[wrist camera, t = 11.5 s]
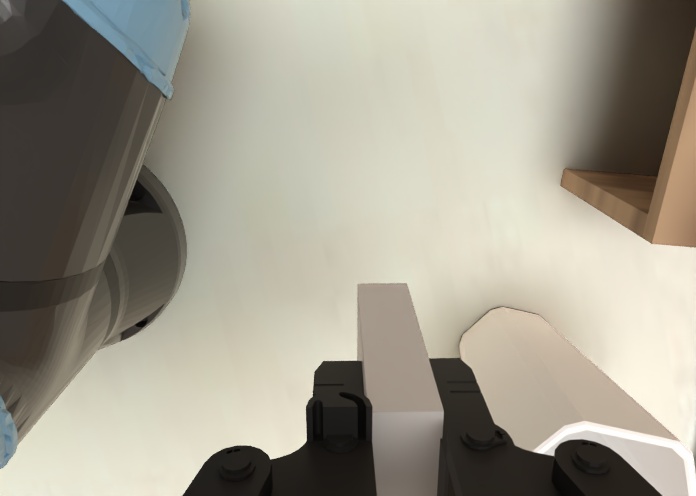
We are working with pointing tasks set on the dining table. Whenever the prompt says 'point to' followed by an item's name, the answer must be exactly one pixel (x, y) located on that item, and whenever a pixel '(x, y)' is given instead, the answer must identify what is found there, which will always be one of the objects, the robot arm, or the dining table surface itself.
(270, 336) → the dining table surface
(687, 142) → the walnut shelf
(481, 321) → the cup
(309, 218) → the dining table surface
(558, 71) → the dining table surface
